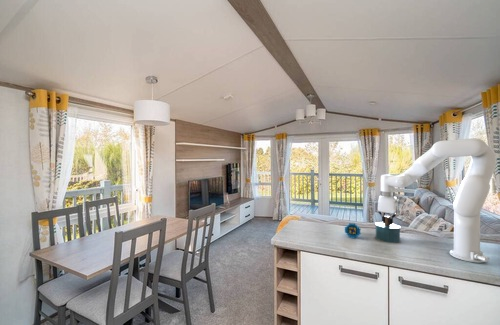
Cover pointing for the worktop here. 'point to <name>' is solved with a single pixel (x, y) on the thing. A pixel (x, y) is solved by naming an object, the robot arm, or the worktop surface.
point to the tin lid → (387, 224)
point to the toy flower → (352, 230)
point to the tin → (388, 235)
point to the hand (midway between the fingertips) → (387, 223)
